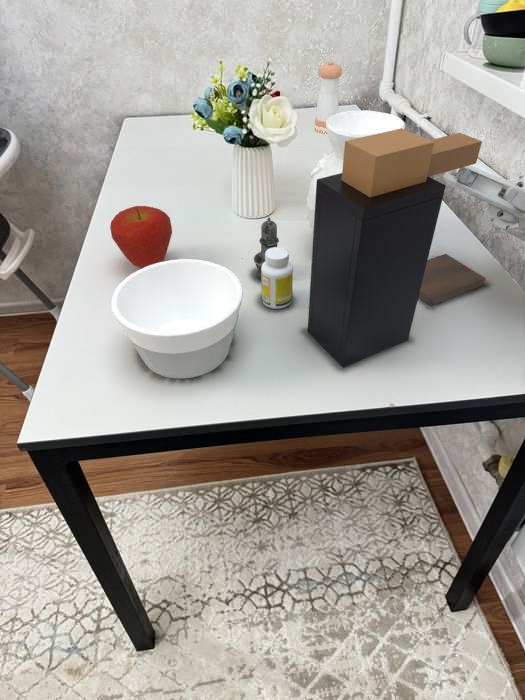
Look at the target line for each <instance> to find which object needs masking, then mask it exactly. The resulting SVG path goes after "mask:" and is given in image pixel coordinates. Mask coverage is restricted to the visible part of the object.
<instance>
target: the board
mask: <svg viewBox="0 0 525 700" xmlns="http://www.w3.org/2000/svg"><path fill="white" fill-rule="evenodd" d="M485 281H486V277H484V276H483V275H481V274H479V273H478V272H476V271H475V270H474V269H471V268H470V267H468V266H467V265H465V264H464V263H462V262H460V261H459V260H457V259H456V258H454V257H453V256H451V255H449V254H447V253H444V254H441V255H438V256H435V257H432V258H430V259H429V258H428V260H427V264H426V269H425V273H424V277H423V281H422V285H421V289H420V293H419V297H418V299H420V300H421V301H423V302H424V303H425V304H426V305H428V306H430V307H432V306H434V305H437V304H439V303H442V302H445V301H447V300H449V299H451V298H454V297H457V296H459V295H461V294H464V293H466V292H469V291H471V290H474V289H476V288H479V287H481V286H483V285H484V284H485Z"/></svg>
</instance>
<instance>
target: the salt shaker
mask: <svg viewBox="0 0 525 700" xmlns="http://www.w3.org/2000/svg"><path fill="white" fill-rule="evenodd" d="M317 74H318V76H319V77H320V79H319V93H318V99H317V102H316V116H315V118H314V126H315V125H316V126H318V127H323V128H326V120H327V119H328V118H329V117H330V116H331V115H333V114H336V113H339V108H340V107H339V83H340V78H341V77H342V74H343V69H342V66H341V65H339V64H337V63H334V61H332V60H329V61H327V63H323V64H322V65H320V66H319V68H318V70H317ZM321 131H322V130H319V131H318V129H317V130H316V128H315V127H314V132H316V133H317V134H321V135H327V132H326V131H325V132H324V133H323V131H322V132H321ZM325 133H326V134H325Z"/></svg>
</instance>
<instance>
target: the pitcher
mask: <svg viewBox="0 0 525 700" xmlns="http://www.w3.org/2000/svg"><path fill="white" fill-rule="evenodd" d="M400 128H402V129H404V130H406V129H405V128H406V123H405V121H404V120H403V119H402V118H400V117H398V116H396V115H394V114H391V113H388V112H381V111H376V110H368V109H366V110H365V109H364V110H362V109H361V110H360V109H359V110H347V111H341V112H338V113H336V114H333V115H331V116H330V117H329V118H328V119H327V120H326V129H327V134H326V135H327V137H328V140H329V143H330V146H331V150H332V151H331V152H330V153H327V152H324V153H323V154H322V156H321V159H319V160H318V162H317V165H316V166H315V167H314V168H313V169H312V170H311V172H310V177H311V180H310V184H309V188H308V193H307V199H306V218H307V221H308V224H309V227H310V231H311V233H312V234H313V232H314V216H315V199H316V184H317V179H320V178H324V177H328V176H332V175H336V174H340V173H342V169H343V158H344V148H345V141H348V140H352V139H356V138H361V137H365V136H370V135H374V134H378V133H383V132H387V131H392V130H396V129H400Z"/></svg>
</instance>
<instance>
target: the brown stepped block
mask: <svg viewBox="0 0 525 700" xmlns="http://www.w3.org/2000/svg"><path fill="white" fill-rule="evenodd" d="M482 143H483V141H482V140H480V139H477V138H475V137H472V136H469V135H467V134H465V133H462V132H457V133H453V134H449V135H446V136H441V137H437V138H433V139H429V138H425V137H423V136H421V135H419V134H416V133H414V132H412V131H409V130H406V129H402V128H400V129H396V130H392V131H387V132H383V133H378V134H374V135H370V136H365V137H361V138H356V139H352V140H348V141H345V148H344V158H343V169H342V179H341V180H342V181H343V182H345V183H347V184H348V185H350V186H352V187H353V188H355V189H357V190H358V191H360V192H362V193H363V194H365V195H367V196H368V197H370V198H371V197H374V196H378V195H381V194H385V193H388V192H392V191H395V190H399V189H403V188H406V187H410V186H413V185H417V184H420V183H424V182H426V179H427V177H430V178H431V177H433V176H437V175H441V174H445V173H446V172H448V171H451V170H455V169H458V168H462V167H466V166H469V165H470V166H473V165H476V164H477V161H478V158H479V155H480V151H481V147H482Z"/></svg>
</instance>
